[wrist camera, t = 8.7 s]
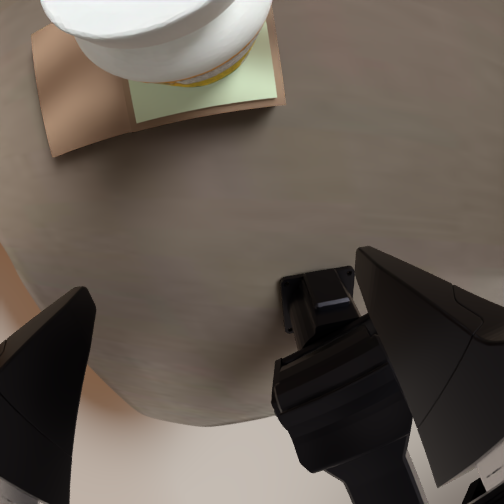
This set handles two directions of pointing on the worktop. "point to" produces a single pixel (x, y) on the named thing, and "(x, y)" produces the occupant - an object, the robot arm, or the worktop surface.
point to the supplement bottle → (163, 36)
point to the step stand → (139, 91)
